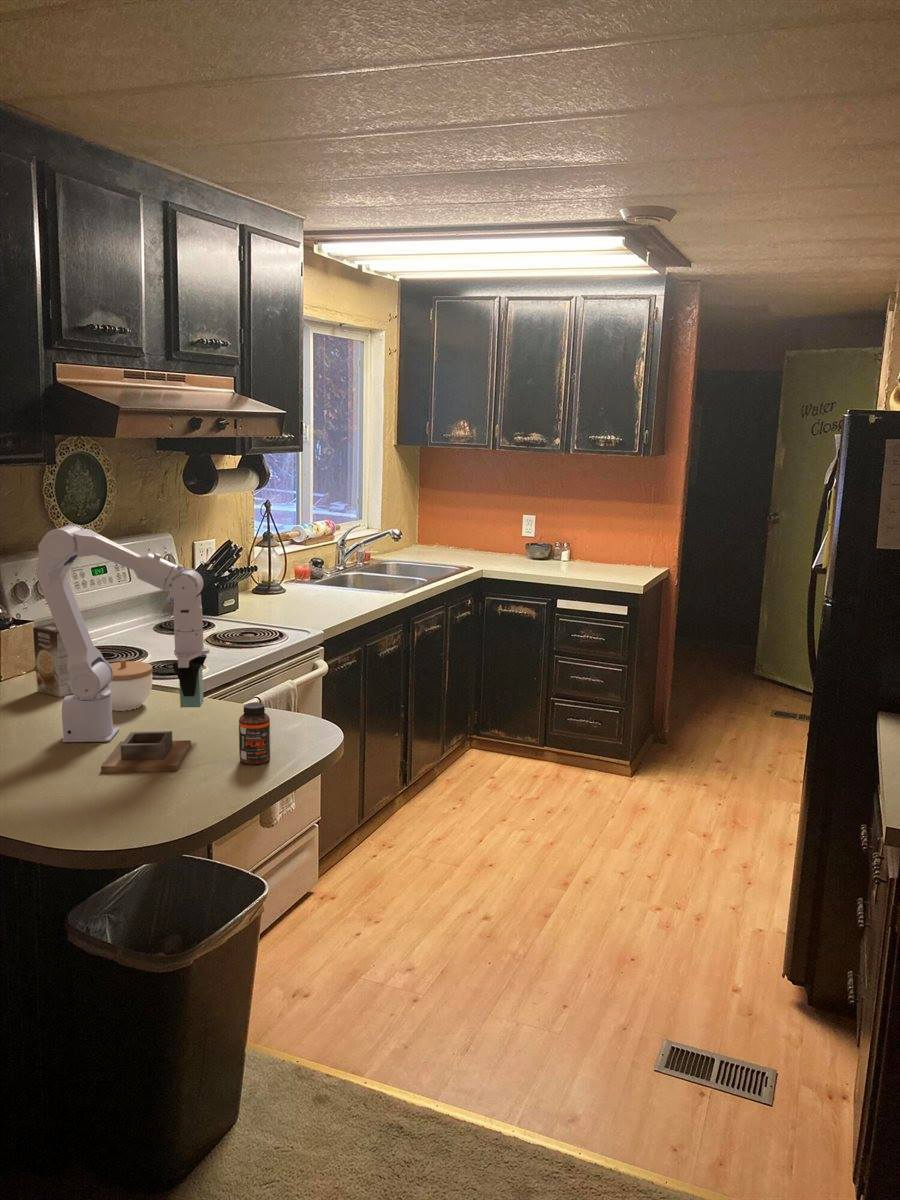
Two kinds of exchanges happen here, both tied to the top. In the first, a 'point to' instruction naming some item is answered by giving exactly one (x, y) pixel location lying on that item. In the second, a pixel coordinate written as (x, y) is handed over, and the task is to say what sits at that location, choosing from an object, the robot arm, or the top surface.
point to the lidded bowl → (130, 684)
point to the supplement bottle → (254, 734)
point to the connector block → (197, 698)
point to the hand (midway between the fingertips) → (191, 692)
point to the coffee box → (51, 661)
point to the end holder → (147, 753)
